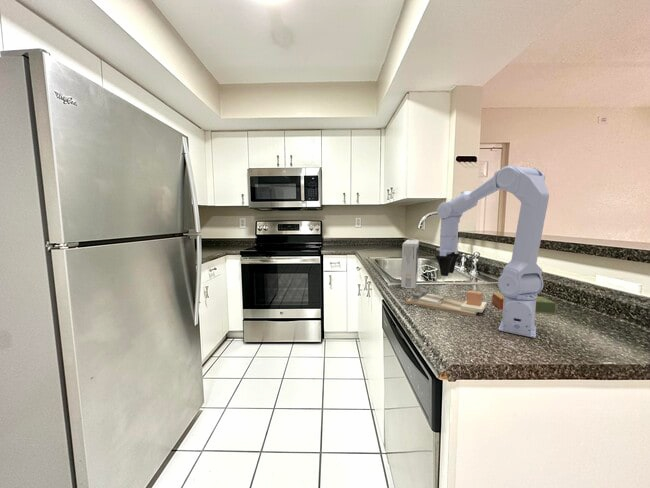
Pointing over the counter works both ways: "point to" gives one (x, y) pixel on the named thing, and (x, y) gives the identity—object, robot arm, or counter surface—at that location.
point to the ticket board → (439, 303)
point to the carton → (541, 304)
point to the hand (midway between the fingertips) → (447, 274)
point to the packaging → (409, 263)
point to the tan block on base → (474, 302)
